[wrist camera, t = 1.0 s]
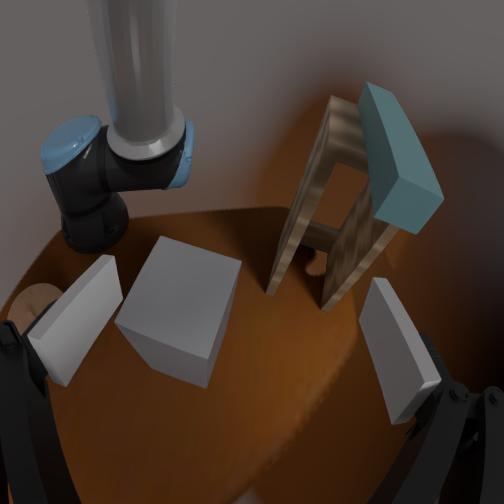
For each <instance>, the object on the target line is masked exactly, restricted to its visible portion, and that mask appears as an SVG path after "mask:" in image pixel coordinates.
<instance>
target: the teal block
mask: <svg viewBox="0 0 504 504" xmlns="http://www.w3.org/2000/svg"><path fill="white" fill-rule="evenodd" d="M358 110H359V115H360V120H361V125H362V130H363V136H364V142H365V148H366V154H367V161H368V168H369V176H370V184H371V193H372V204H373V215H374V218H377V219H379V220H382V221H385V222H387V223H390V224H392V225H395V226H397V227H399V228H402V229H404V230H407V231H409V232H411V233H414V234H417V233H418V232H419V231H420V230H421V228H422V227H423V226H424V225H425V223H426V222H427V220H429V218H430V217H431V216H432V215H433V213H434V212H435V211H436V209H437V208H438V207H439V206H440V204H441V203H442V202H443V200H444V197H443V194H442V191H441V189H440V186H439V184H438V181H437V179H436V177H435V174H434V172H433V170H432V167H431V165H430V163H429V161H428V158H427V156H426V154H425V152H424V150H423V148H422V145H421V143H420V141H419V140H418V137H417V136H416V134H415V132H414V130H413V128H412V126H411V124H410V122H409V120H408V119H407V117H406V115H405V113H404V112H403V110H402V108H401V106H400V105H399V103H398V101H397V100H396V98H395V96H394V95H393V93H391V92H389V91H387V90H385V89H382V88H380V87H378V86H375V85H373V84H371V83H368V82H366V85H365V87H364V89H363V92H362V95H361V97H360V100H359V102H358Z"/></svg>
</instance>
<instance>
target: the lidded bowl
mask: <svg viewBox="0 0 504 504" xmlns="http://www.w3.org/2000/svg"><path fill="white" fill-rule="evenodd" d="M63 294H64V293H63V292H62V291H61V290H60V289H59V288H57V287H56V286H54V285H51V284H48V283H38V284H34V285H32V286H29V287H28V288H26V289H24V290H23V291H22V292H21V293H20V294H19V295H18V296H17V297H16V299H15V300H14V302H13V304H12V306H11V308H10V311H9V314H8V318H7V320H11V321H13V322H14V323H15V325H16V327H17V329H18V331H19V333H20V335H22V334H23V333H24V331H25V330H26V329H27V328H28V327H29V325H30V324H31V323H32V322H33V321H34V320H35V319H36V318H37V316H38V315H39V314H40V313H42V311H43V310H44V309H45V307H46V306H47V305H48V304H50V303H51V302H53V301H54V300H56V299H59V298H60V297H61V296H62V295H63Z"/></svg>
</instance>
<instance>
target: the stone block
mask: <svg viewBox="0 0 504 504" xmlns="http://www.w3.org/2000/svg"><path fill="white" fill-rule="evenodd" d="M241 263H242V261H239V260H236V259H233V258H230V257H226V256H223V255H220V254H217V253H214V252H211V251H207V250H204V249H201V248H198V247H195V246H192V245H188V244H185V243H182V242H179V241H176V240H173V239H170V238H167V237H164V236H160V238H159V239H158V241H157V243H156V244H155V246H154V248H153V250H152V251H151V253H150V255H149V257H148V259H147V260H146V262H145V264H144V266H143V268H142V269H141V271H140V273H139V275H138V277H137V279H136V280H135V282H134V284H133V286H132V288H131V290H130V292H129V294H128V296H127V298H126V300H125V302H124V304H123V306H122V308H121V310H120V312H119V314H118V316H117V318H116V320H115V322H114V323H115V324H116V325H117V327H118V328H119V329H120V331H121V332H122V333H123V334H124V336H125V337H126V338H127V340H128V341H129V342H130V343H131V345H132V346H133V347H134V348H135V349H136V351H137V352H138V353H139V354H140V355H141V357H142V358H143V359H144V360H145V361H146V363H147V364H148V365H149V366H150V367H151V368H152V369H154V370H157V371H159V372H162V373H164V374H167V375H170V376H172V377H175V378H177V379H180V380H183V381H186V382H188V383H191V384H194V385H197V386H200V387H203V388H206V389H207V386H208V383H209V380H210V377H211V374H212V371H213V368H214V365H215V362H216V359H217V356H218V353H219V350H220V347H221V344H222V340H223V337H224V334H225V331H226V328H227V324H228V319H229V315H230V311H231V306H232V302H233V297H234V293H235V289H236V284H237V280H238V276H239V271H240V267H241Z"/></svg>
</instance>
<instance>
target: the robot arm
mask: <svg viewBox="0 0 504 504" xmlns="http://www.w3.org/2000/svg"><path fill="white" fill-rule="evenodd" d="M177 1H178V0H86V2H87V9H88V16H89V22H90V28H91V33H92V38H93V44H94V49H95V54H96V58H97V63H98V68H99V72H100V76H101V80H102V84H103V88H104V92H105V96H106V100H107V103H108V107H109V111H110V114H111V118H112V121H111V122H110V124H109V125H106V126H102V122H101V121H100V119H99V118H98V117H97V116H93V115H87V116H82V117H78V118H75V119H73V120H71V121H69V122H67V123H65V124H63V125H62V126H60V127H59V128H57V129H56V130H55V131H54V132H52V133H51V134H50V135H49V136H48V137H47V139H46V140H45V141H44V143H43V145H42V147H41V150H40V158H41V162H42V166H43V172H44V173H45V175H46V177H47V180H48V182H49V185H50V187H51V190H52V192H53V195H54V197H55V199H56V202H57V204H58V206H59V208H60V211H61V225H62V233H63V236H64V238H65V240H66V242H67V244H68V245H69V246H70V247H71V248H72V249H73V250H75V251H77V252H79V253H84V254H91V253H97V252H100V251H103V250H105V249H107V248H109V247H111V246H112V245H114V244H115V243H116V242H117V241H118V240H119V239H120V238H121V237H122V236H123V234H124V233H125V231H126V229H127V227H128V223H129V215H128V211H127V207H126V204H125V202H124V201H123V199H122V198H121V197H120V195H119V194H118V193H117V192H123V191H137V190H152V189H162V190H167V189H170V188H179V187H182V186H183V185H185V184H186V183H187V181H188V178H189V175H190V170H191V163H192V159H191V158H192V154H193V146H194V125H193V122H191V121H190V120H186V119H184V117H183V114H182V113H181V111H180V110H179V109H178V108H177V107H176V106H175V105H174V57H175V32H176V15H177ZM122 300H123V296H122V292H121V287H120V283H119V278H118V273H117V268H116V262H115V257H114V256H111V255H102V256H101V257H100V258H99V259H98V260H96V261H95V262H94V263H93V264H92V265H91V266H90V267H89V268H88V269H87V270H86V271H85V272H84V273H83V274H82V275H81V276H80V277H79V278H78V279H77V280H76V281H75V282H74V283H73V284H72V285H71V287H70V288H69V289H68V290H67V291H66V292H65V293H64V294H63V295H62V296H61V297H60V298H59V299H56V300H54V301H53V302H51V303H50V304H48V305H47V306H46V307H45V309H44V310H43V311H42V313H40V314H39V315H38V316H37V318H36V319H35V320H34V321H33V322H32V323H31V324H30V325H29V327H28V328H27V329H26V330H25V331H24V333H23V334H22V335H20V333H19V331H18V329H17V327H16V325H15V323H14V322H13V321H11V320H4V321H2V322H0V504H9V497H8V483H9V487H10V491H11V495H12V498H13V503H14V504H82V503H81V501H80V499H79V496H78V494H77V492H76V489H75V487H74V484H73V481H72V479H71V476H70V473H69V470H68V467H67V464H66V461H65V458H64V455H63V451H62V448H61V444H60V441H59V437H58V433H57V429H56V425H55V421H54V416H53V411H52V406H51V401H50V395H49V389H48V383H47V380H46V379H45V377H46V375H47V374H49V375H50V377H51V379H52V380H53V382H55V383H57V384H60V385H62V386H65V387H67V385H68V383H69V381H70V380H71V378H72V376H73V375H74V373H75V371H76V370H77V368H78V366H79V365H80V363H81V362H82V360H83V358H84V357H85V355H86V354H87V352H88V350H89V349H90V347H91V346H92V344H93V343H94V341H95V340H96V338H97V337H98V335H99V334H100V332H101V330H102V329H103V327H104V326H105V325H106V323H107V322H108V320H109V319H110V317H111V316H112V314H113V313H114V311H115V310H116V308H117V307H118V306H119V304H120V303H121V301H122ZM359 322H360V325H361V328H362V330H363V334H364V336H365V339H366V342H367V345H368V348H369V351H370V354H371V357H372V360H373V363H374V366H375V369H376V372H377V375H378V379H379V382H380V385H381V388H382V392H383V395H384V399H385V402H386V405H387V409H388V413H389V416H390V420H391V424H392V425H393V424H399V423H404V422H408V421H409V420H410V419H411V417H412V416H413V415H414V414H415V417H416V420H417V421H416V422H415V423H414V424H413V426H411V427H410V429H408V431H407V432H406V433H405V435H407V434H408V433H409V432H410V433H409V435H408V437H407V439H406V441H405V442H404V445H403V446H402V448H401V450H400V452H399V454H398V455H397V457H396V459H395V461H394V462H393V464H392V466H391V468H390V469H389V471H388V473H387V474H386V476H385V477H384V479H383V481H382V482H381V483H380V485H379V487H378V488H377V490H376V491H375V493H374V494H373V496H372V497H371V498H370V500H369V501H368V502H367V504H434V503H435V501H436V499H437V497H438V495H439V492H440V490H441V488H442V490H441V494H440V498H439V502H438V504H504V394H503V392H502V391H501V390H500V389H499V388H497V387H495V386H490V387H488V388H486V390H485V391H484V392H483V393H482V394H474V393H469V391H468V389H467V388H466V387H465V386H464V385H463V384H461V383H459V382H453V380H452V378H451V376H450V374H449V372H448V370H447V368H446V366H445V364H444V362H443V360H442V358H441V357H440V354H439V352H438V351H437V350H436V347H435V345H434V343H433V341H432V340H431V339H430V338H429V337H428V336H427V335H426V334H425V333H418V332H417V330H416V328H415V327H414V325H413V323H412V321H411V319H410V317H409V316H408V314H407V312H406V311H405V309H404V307H403V305H402V304H401V302H400V300H399V299H398V297H397V295H396V293H395V292H394V290H393V289H392V287H391V285H390V284H389V282H388V281H387V279H386V278H373V279H372V282H371V285H370V289H369V292H368V295H367V298H366V301H365V304H364V307H363V310H362V313H361V316H360V319H359ZM477 434H478V440H477ZM7 479H8V480H7Z"/></svg>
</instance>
